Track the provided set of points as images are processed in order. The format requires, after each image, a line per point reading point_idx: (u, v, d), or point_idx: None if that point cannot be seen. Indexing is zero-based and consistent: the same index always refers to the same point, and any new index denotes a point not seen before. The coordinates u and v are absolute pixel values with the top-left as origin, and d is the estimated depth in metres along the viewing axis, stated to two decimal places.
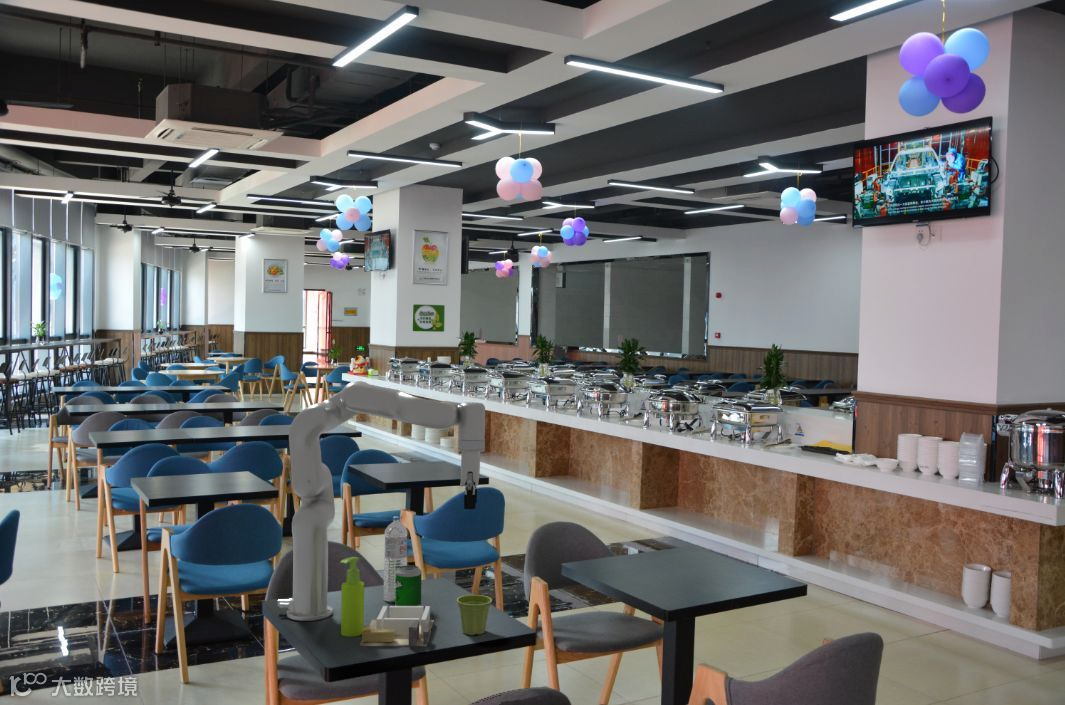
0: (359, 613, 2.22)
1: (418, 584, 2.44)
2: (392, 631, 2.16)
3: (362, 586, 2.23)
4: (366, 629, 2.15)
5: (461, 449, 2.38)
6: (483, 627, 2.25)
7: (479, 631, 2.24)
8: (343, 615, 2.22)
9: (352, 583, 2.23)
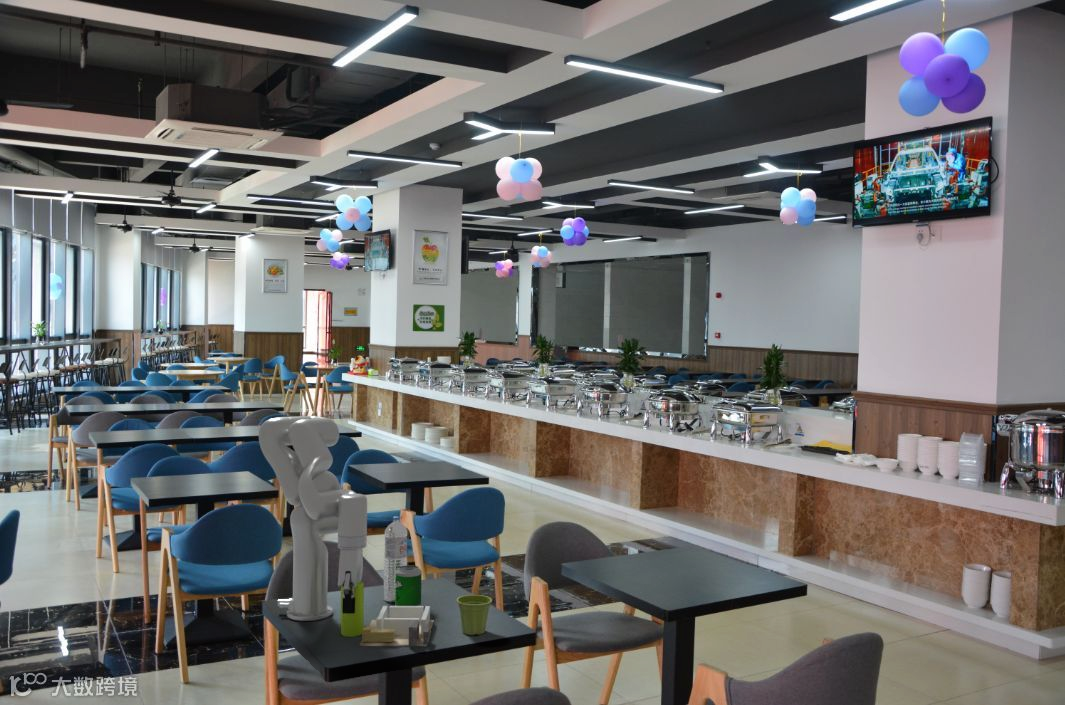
0: (358, 613, 2.22)
1: (418, 584, 2.44)
2: (392, 631, 2.16)
3: (361, 586, 2.23)
4: (366, 629, 2.15)
5: (339, 546, 2.21)
6: (483, 627, 2.25)
7: (479, 631, 2.24)
8: (343, 615, 2.22)
9: (351, 584, 2.22)
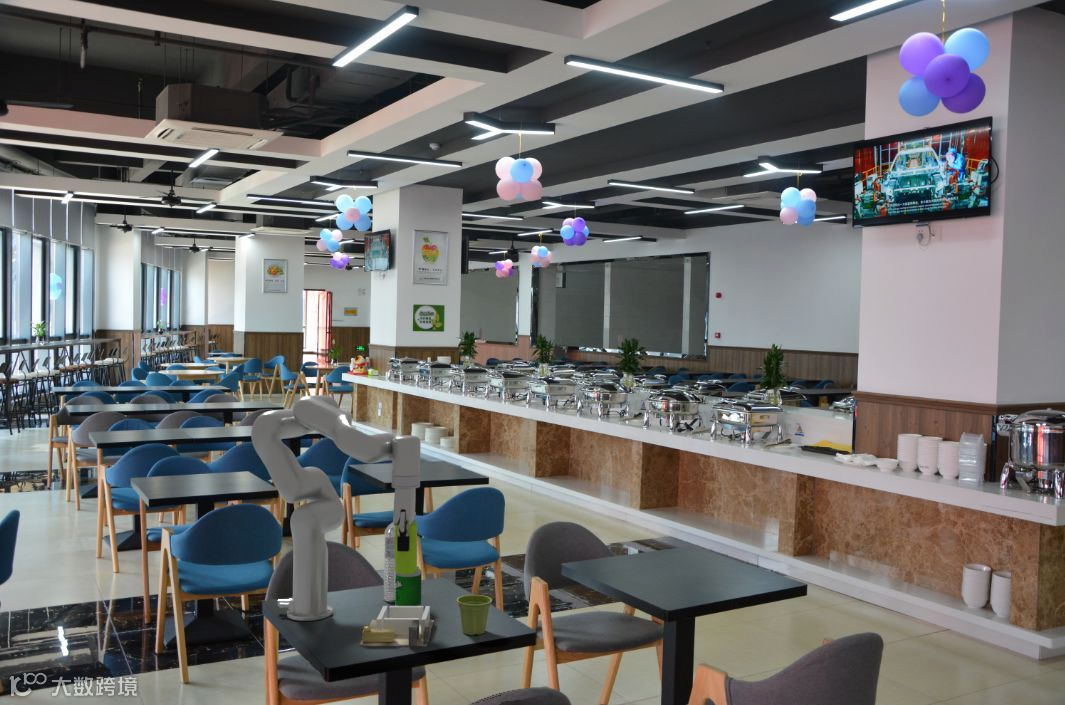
0: (413, 552, 2.26)
1: (418, 584, 2.44)
2: (392, 631, 2.16)
3: (415, 525, 2.27)
4: (366, 629, 2.15)
5: (394, 486, 2.26)
6: (483, 627, 2.25)
7: (479, 631, 2.24)
8: (397, 553, 2.26)
9: (405, 523, 2.26)
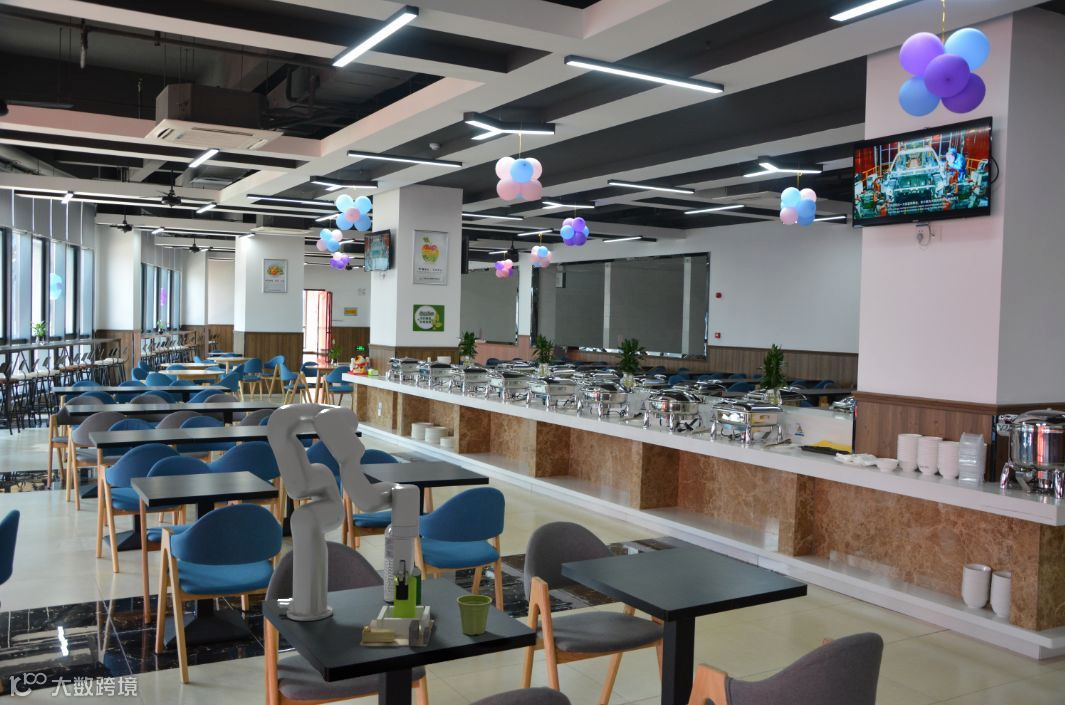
0: (411, 608, 2.26)
1: (418, 584, 2.44)
2: (392, 631, 2.16)
3: (415, 581, 2.27)
4: (366, 629, 2.15)
5: (393, 536, 2.26)
6: (483, 627, 2.25)
7: (479, 631, 2.24)
8: (396, 610, 2.26)
9: None
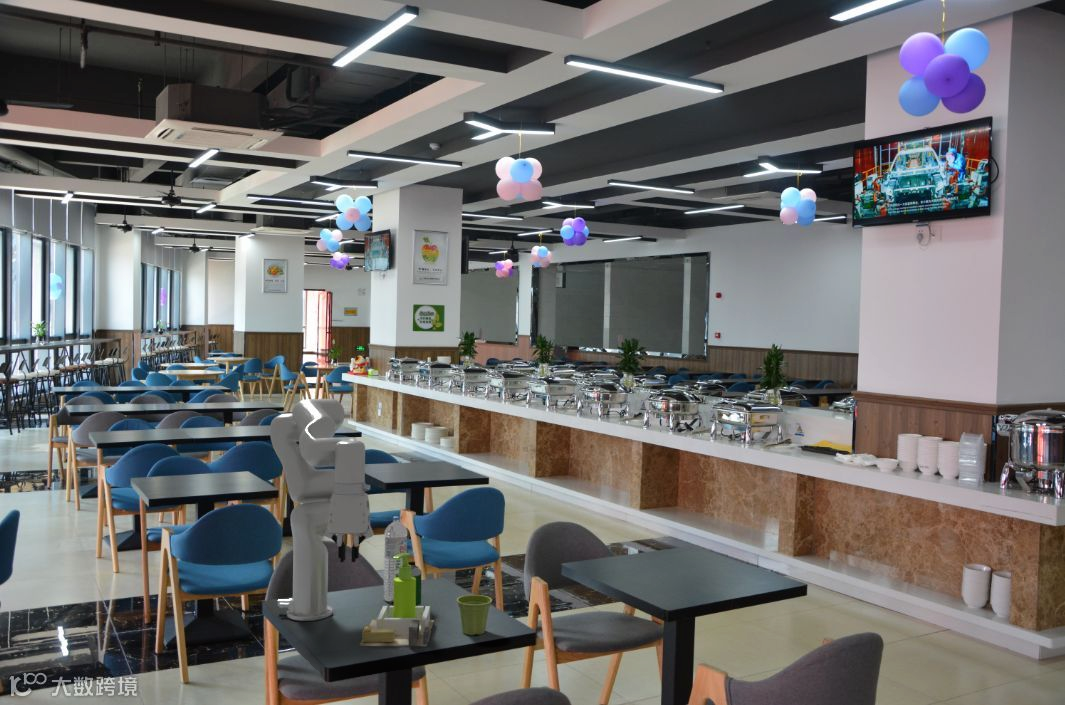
0: (411, 608, 2.26)
1: (418, 584, 2.44)
2: (392, 631, 2.16)
3: (414, 581, 2.27)
4: (366, 629, 2.15)
5: None
6: (483, 627, 2.25)
7: (479, 631, 2.24)
8: (396, 610, 2.26)
9: (404, 578, 2.26)
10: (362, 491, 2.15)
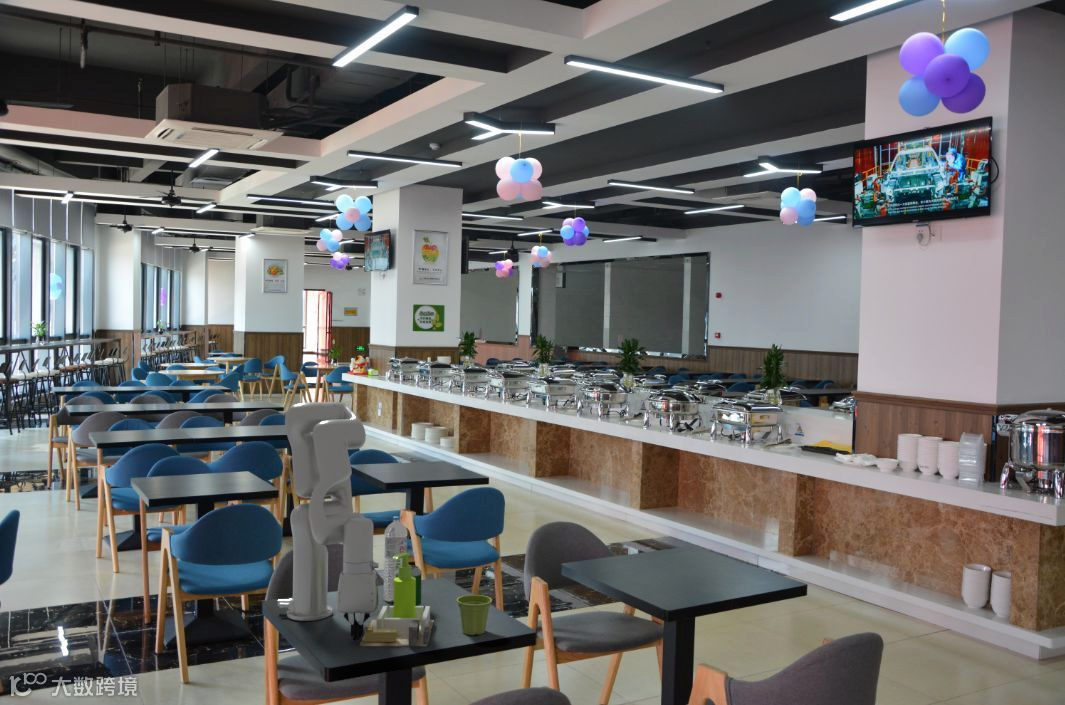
0: (411, 608, 2.26)
1: (418, 584, 2.44)
2: (394, 631, 2.16)
3: (414, 581, 2.27)
4: (368, 629, 2.16)
5: None
6: (483, 627, 2.25)
7: (479, 631, 2.24)
8: (396, 610, 2.26)
9: (404, 579, 2.26)
10: (370, 569, 2.15)
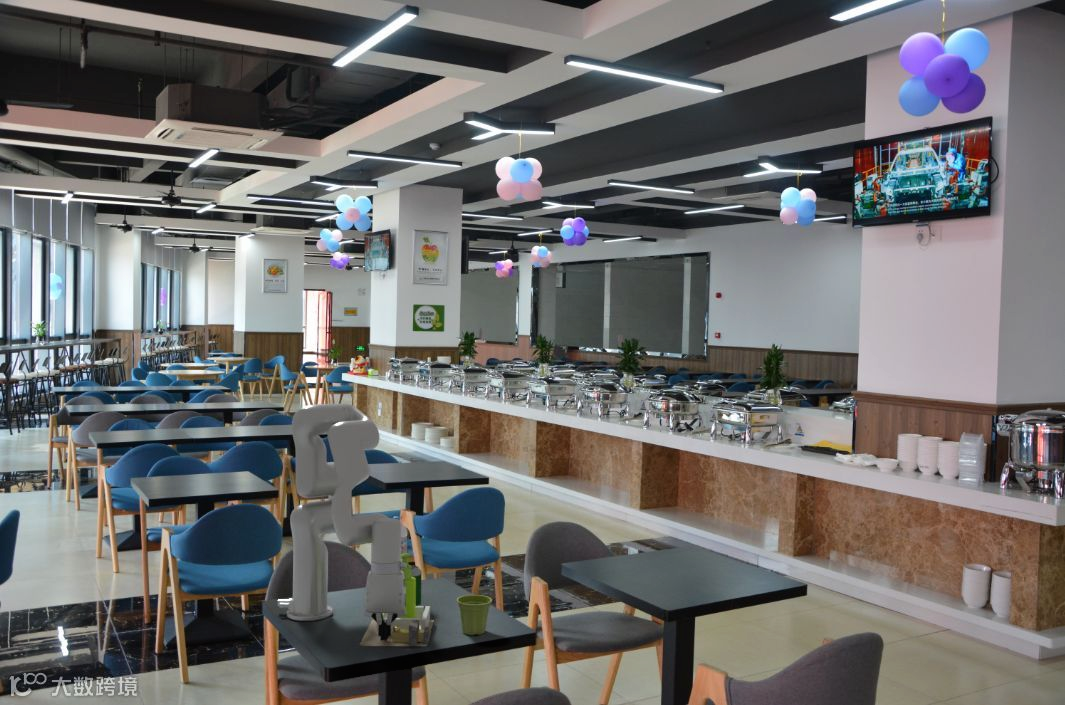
0: (411, 608, 2.26)
1: (418, 584, 2.44)
2: (422, 631, 2.16)
3: (414, 581, 2.27)
4: (396, 629, 2.16)
5: None
6: (483, 627, 2.25)
7: (479, 631, 2.24)
8: None
9: None
10: (398, 570, 2.15)
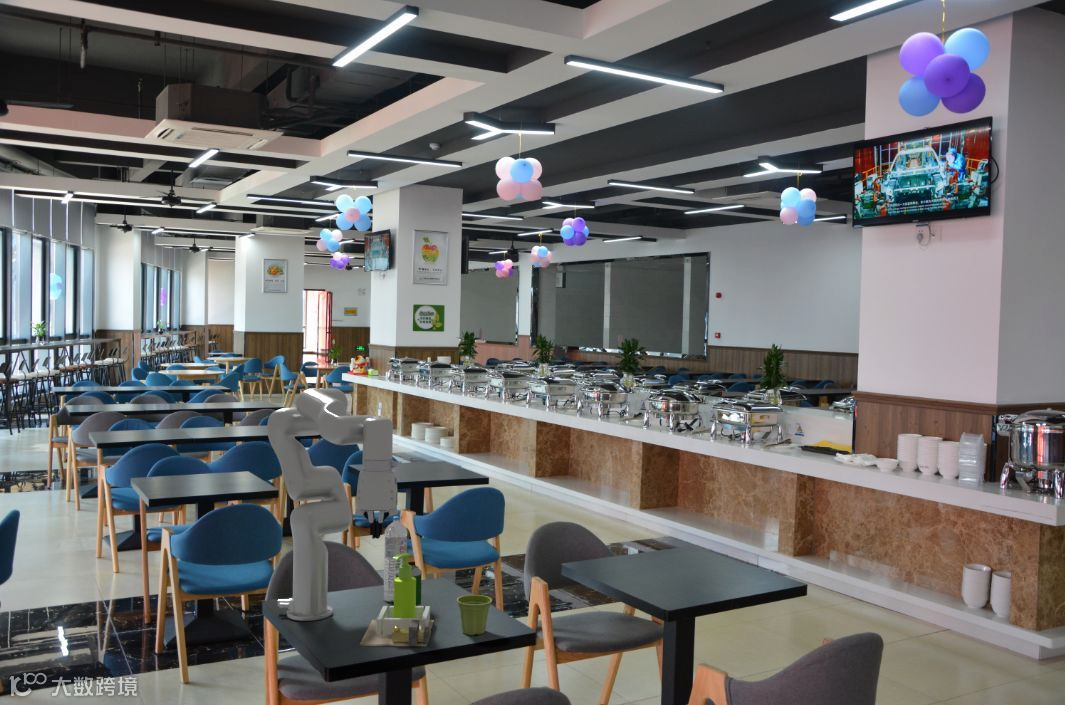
0: (411, 608, 2.26)
1: (418, 584, 2.44)
2: (422, 631, 2.16)
3: (414, 581, 2.27)
4: (396, 629, 2.16)
5: None
6: (483, 627, 2.25)
7: (479, 631, 2.24)
8: (396, 610, 2.26)
9: (404, 579, 2.26)
10: (390, 468, 2.15)
